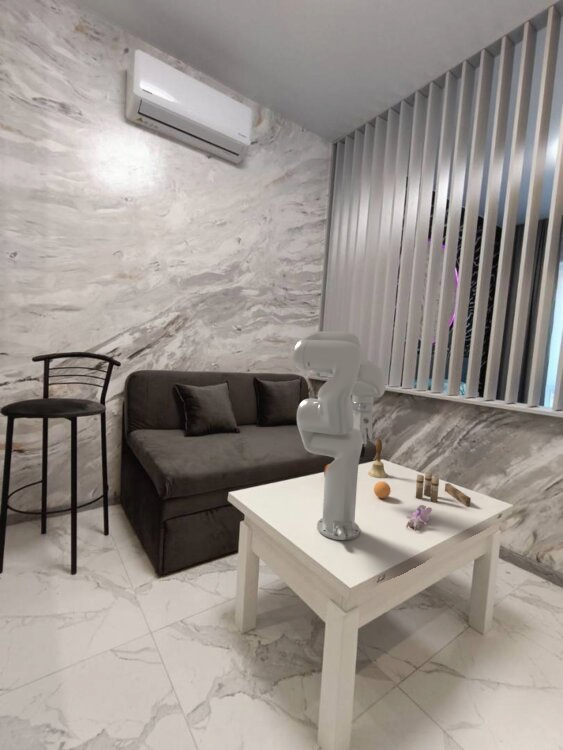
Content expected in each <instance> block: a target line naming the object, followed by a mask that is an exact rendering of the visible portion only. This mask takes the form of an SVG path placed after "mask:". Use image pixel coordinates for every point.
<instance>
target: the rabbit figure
mask: <svg viewBox="0 0 563 750" xmlns="http://www.w3.org/2000/svg"><path fill="white" fill-rule="evenodd" d="M432 511H433V509H432V507H427V506H426V505H424V504H420V505H419V506H418V507H417V508H416V510H415V511H414V512H412V515H411V516H406V519H409V520H408V521H407V523H406V526H405V528H406V529H409V528H413V531H414V532H417V530H419V529H420V527H421V523H423V524H424V525H427V522H429V515H430V514H431V513H432Z"/></svg>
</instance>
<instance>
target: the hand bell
mask: <svg viewBox="0 0 563 750" xmlns="http://www.w3.org/2000/svg"><path fill="white" fill-rule="evenodd" d="M382 448H383V443H382V439H380V438H378V439H377V441H376V443H375V449H376V450H375V451H376V460H375V461H373V462H372V467H371V469H370V470H369V471H368V473H367V474H368V475H369V476H370V477H371V478H372V477H373V478H377V479H385V477H386V478H387V477H388V473H386V470H385V468H384V462H382V461H381V452H382V451H383V450H382Z"/></svg>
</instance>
